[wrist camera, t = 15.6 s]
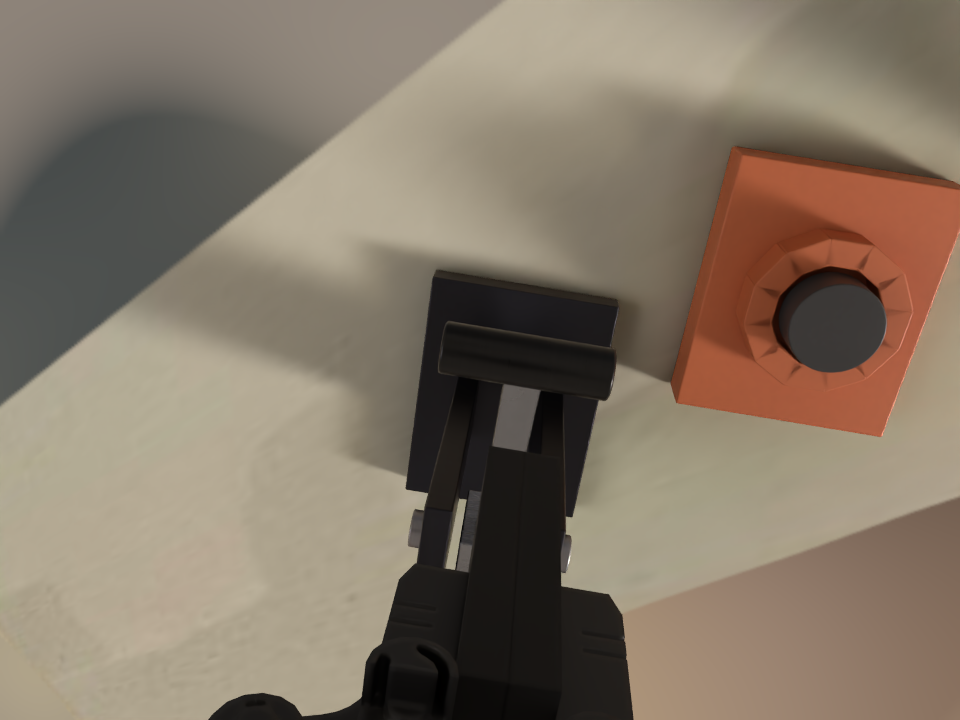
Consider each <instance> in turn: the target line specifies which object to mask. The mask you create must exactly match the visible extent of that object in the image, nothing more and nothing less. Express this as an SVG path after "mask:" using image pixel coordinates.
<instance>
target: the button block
mask: <svg viewBox="0 0 960 720" xmlns="http://www.w3.org/2000/svg"><path fill="white" fill-rule="evenodd" d="M959 232H960V185H959V184H957V183H955V182H953V181H947V180H941V179H935V178H929V177H923V176H916V175H910V174H904V173H898V172H891V171H885V170H879V169H873V168H867V167H860V166H854V165H848V164H842V163H835V162H829V161H823V160H817V159H811V158H804V157H798V156H792V155H786V154H779V153H773V152H767V151H761V150H754V149H748V148H742V147H736V146H734V147H732V149H731V153H730V157H729V161H728V165H727V168H726V172H725V176H724V180H723V184H722V188H721V192H720V195H719V199H718V203H717V207H716V211H715V215H714V219H713V222H712V226H711V230H710V234H709V238H708V242H707V246H706V249H705V253H704V257H703V261H702V265H701V269H700V273H699V276H698V280H697V284H696V288H695V292H694V296H693V300H692V303H691V307H690V311H689V315H688V319H687V323H686V327H685V330H684V334H683V338H682V342H681V346H680V350H679V354H678V357H677V361H676V365H675V369H674V373H673V377H672V381H671V387H672V390H673V394H674V397H675V400H676V403H680V404H686V405H692V406H698V407H704V408H710V409H716V410H722V411H728V412H734V413H740V414H746V415H752V416H758V417H764V418H770V419H776V420H782V421H788V422H794V423H800V424H806V425H812V426H818V427H824V428H830V429H836V430H842V431H848V432H854V433H860V434H866V435H872V436H878V437H881V436H882V435H883V432H884V429H885V427H886V424H887V421H888V419H889V416H890V414H891V411H892V408H893V406H894V403H895V400H896V398H897V395H898V393H899V390H900V387H901V385H902V382H903V379H904V377H905V374H906V371H907V369H908V366H909V364H910V361H911V358H912V356H913V353H914V350H915V348H916V345H917V342H918V340H919V337H920V335H921V332H922V329H923V327H924V324H925V321H926V319H927V316H928V314H929V311H930V308H931V306H932V303H933V300H934V298H935V295H936V292H937V290H938V287H939V285H940V282H941V279H942V277H943V274H944V271H945V269H946V266H947V263H948V261H949V258H950V256H951V253H952V250H953V248H954V245H955V242H956V240H957V237H958V235H959ZM825 272H840V273H844V274H848V275H850V276H853V277H854V278H856V279H858V280H859V281H860V282H862V283H863V284H864V285H865V286H866V287H867V288H868V289H869V290H870V291H871V292H872V293H873V294H874V295H875V296H876V297H877V298H878V299H879V300H880V302H881V303H882V305H883V307H884V309H885V312H886V317H887V328H886V333H885V337H884V339H883V341H882V343H881V345H880V347H879V348H878V350H877V351H876V352H875V353H874V354H873V355H872V356H871V357H870V358H869V359H868V360H867V361H866V362H864V363H862V364H861V365H859V366H857V367H855V368H853V369H850V370H847V371H843V372H836V373H827V372H820V371H816V370H813V369H811V368H809V367H807V366H805V365H804V364H802V363H801V362H800V361H799V360H798V359H797V358H796V357H795V355H794V354H793V352H792V351H791V349H790V348H789V346H788V345H787V343H786V342H785V340H784V339H783V337H782V335H781V332H780V328H779V312H780V308H781V305H782V303H783V301H784V299H785V297H786V296H787V294H788V293H789V292H790V291H791V290H792V289H793V288H794V287H795V286H796V285H797V284H798V283H800V282H801V281H803V280H804V279H806V278H808V277H810V276H813V275H816V274H819V273H825Z"/></svg>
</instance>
